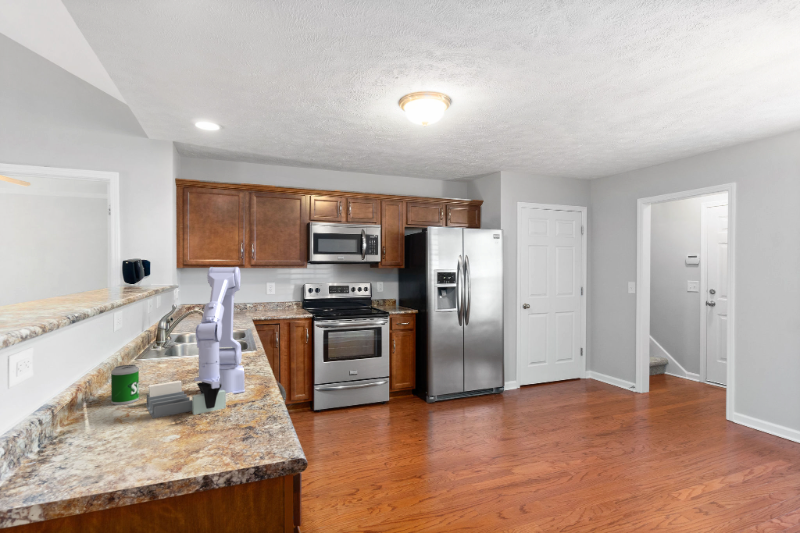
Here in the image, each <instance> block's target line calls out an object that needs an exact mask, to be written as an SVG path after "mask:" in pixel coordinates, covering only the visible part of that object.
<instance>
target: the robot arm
mask: <svg viewBox="0 0 800 533" xmlns="http://www.w3.org/2000/svg"><path fill="white" fill-rule="evenodd" d="M206 274H207V277H206V278H207V282H208V284H209V287H210V288H211V291H210V298H209V302H208V303H206V304H205V306H204V308H203V312H202V313H203V314H202V318H201V320H200V323H198V324H197V325H196V328H195V340H196V346H197V348H198V376H197V377H194V381H195V382H197V383H196V385H197V387H198V389H199V390H200V394H204V398H205V404H206V408H207V409H209V408H214V407H215V403H216V398H217V395H218V392H219V391H220V390H225V391H226V394H231V393H232V394H233V395H235V394H239V393H240V394H241V393H245V392H246V390H245V369H244V366H243V365H242V364H241V363H242V358H243V357H242V356H243V355H242V345H241V343H240V342H239V341H238V340H236V339H234V313H235V312H234V309H235V308H234V307H235V305H234V304H235V294H236V292H238V291H240V288H241V279H242V278H241V276H242V274H241V270H240V267H239V266H234V267H233V266H232V267H231V266H230V267H224V266H223V267H222V266H221V267H218V266H217V267H216V266H215V267H213V266H210V267H209V269H208V270H207V273H206Z"/></svg>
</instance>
